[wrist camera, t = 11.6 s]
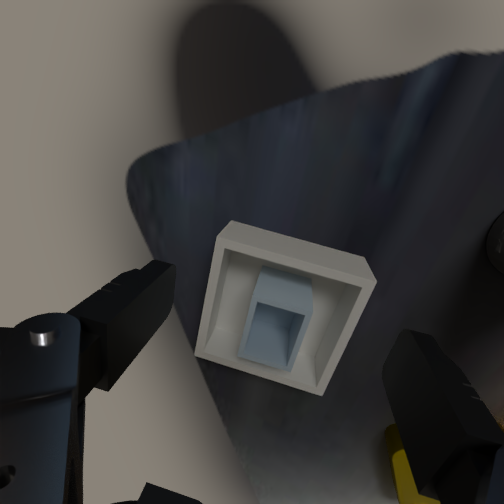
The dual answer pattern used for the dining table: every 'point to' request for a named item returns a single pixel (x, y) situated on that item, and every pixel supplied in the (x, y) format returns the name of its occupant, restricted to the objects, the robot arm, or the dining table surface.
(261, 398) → the dining table surface
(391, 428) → the element tile
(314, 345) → the large crate
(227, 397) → the dining table surface
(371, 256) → the dining table surface
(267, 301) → the small crate
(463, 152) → the dining table surface
